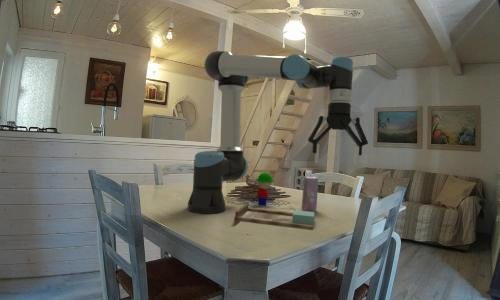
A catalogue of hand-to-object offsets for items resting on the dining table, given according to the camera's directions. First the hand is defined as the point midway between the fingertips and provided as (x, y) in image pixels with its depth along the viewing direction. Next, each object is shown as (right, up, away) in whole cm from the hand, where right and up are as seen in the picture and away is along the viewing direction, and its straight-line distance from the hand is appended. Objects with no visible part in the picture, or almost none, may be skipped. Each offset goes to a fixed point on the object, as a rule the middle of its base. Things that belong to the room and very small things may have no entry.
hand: (336, 163), depth 103 cm
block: (-12, -20, -2) cm, 23 cm away
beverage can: (-6, -22, +19) cm, 29 cm away
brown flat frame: (-21, -21, +1) cm, 30 cm away
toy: (-24, -20, +28) cm, 42 cm away
